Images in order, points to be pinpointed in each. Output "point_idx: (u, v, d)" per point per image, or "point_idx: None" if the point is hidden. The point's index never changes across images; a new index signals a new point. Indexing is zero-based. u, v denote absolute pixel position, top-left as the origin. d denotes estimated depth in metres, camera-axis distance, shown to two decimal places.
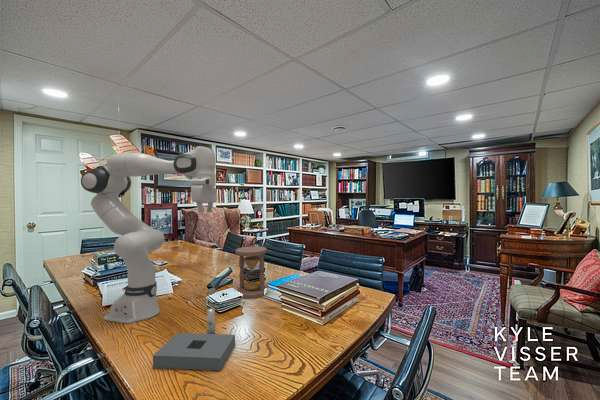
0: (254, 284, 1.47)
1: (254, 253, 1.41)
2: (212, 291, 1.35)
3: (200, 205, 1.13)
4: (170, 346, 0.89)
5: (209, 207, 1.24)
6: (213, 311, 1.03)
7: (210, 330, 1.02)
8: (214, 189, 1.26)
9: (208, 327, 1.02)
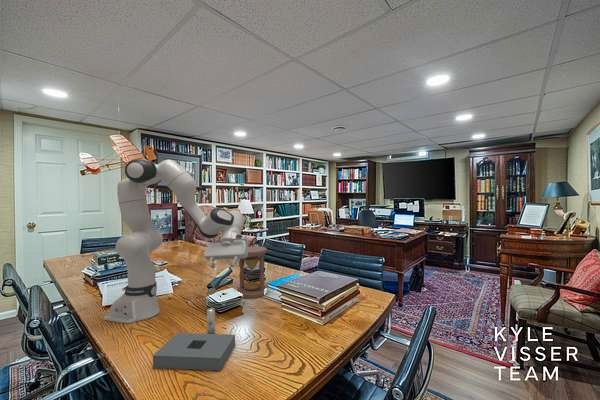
0: (254, 284, 1.47)
1: (254, 253, 1.41)
2: (212, 291, 1.35)
3: (237, 260, 1.17)
4: (170, 346, 0.89)
5: None
6: (213, 311, 1.03)
7: (210, 330, 1.02)
8: None
9: (208, 327, 1.02)
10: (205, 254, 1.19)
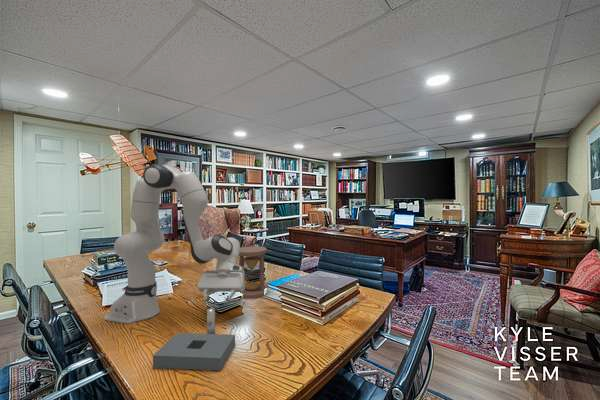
0: (254, 284, 1.47)
1: (254, 253, 1.41)
2: (212, 291, 1.36)
3: (234, 294, 1.12)
4: (170, 346, 0.89)
5: (207, 295, 1.11)
6: (213, 311, 1.03)
7: (210, 330, 1.02)
8: None
9: (208, 327, 1.02)
10: (199, 285, 1.13)
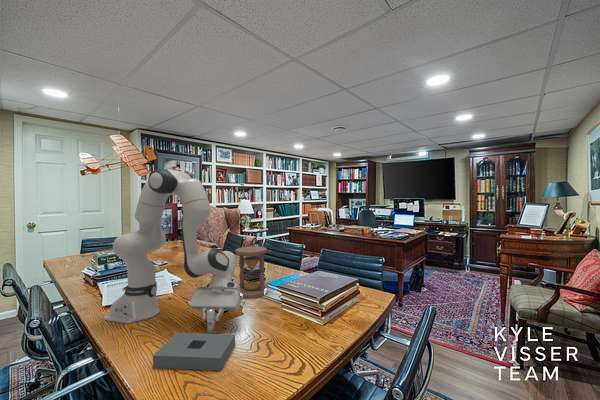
0: (254, 284, 1.47)
1: (254, 253, 1.41)
2: None
3: (222, 313, 1.05)
4: (170, 346, 0.89)
5: (205, 314, 1.05)
6: (213, 311, 1.03)
7: (210, 330, 1.02)
8: None
9: (208, 327, 1.02)
10: (191, 304, 1.06)
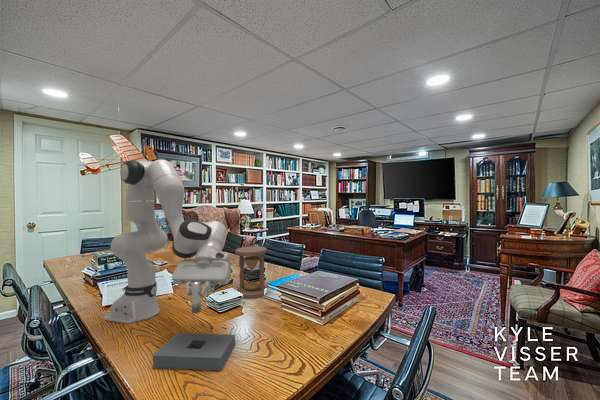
0: (254, 284, 1.47)
1: (254, 253, 1.41)
2: (211, 290, 1.37)
3: (209, 286, 0.91)
4: (170, 346, 0.89)
5: (190, 288, 0.90)
6: (198, 284, 0.89)
7: (195, 306, 0.88)
8: None
9: (192, 302, 0.88)
10: (174, 276, 0.92)
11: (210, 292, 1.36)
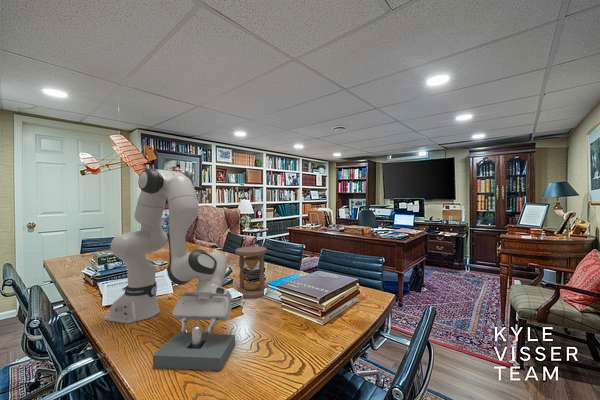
0: (254, 284, 1.47)
1: (254, 253, 1.41)
2: None
3: (215, 323, 0.91)
4: (170, 346, 0.89)
5: (185, 325, 0.91)
6: (199, 329, 0.89)
7: None
8: None
9: (193, 347, 0.88)
10: (174, 313, 0.92)
11: None
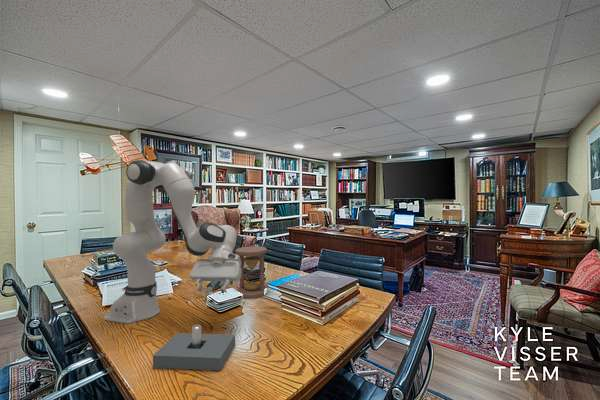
0: (254, 284, 1.47)
1: (254, 253, 1.41)
2: (210, 289, 1.38)
3: (229, 283, 1.04)
4: (170, 346, 0.89)
5: (200, 284, 1.03)
6: (199, 329, 0.89)
7: None
8: None
9: (193, 347, 0.88)
10: (191, 274, 1.05)
11: (209, 291, 1.37)
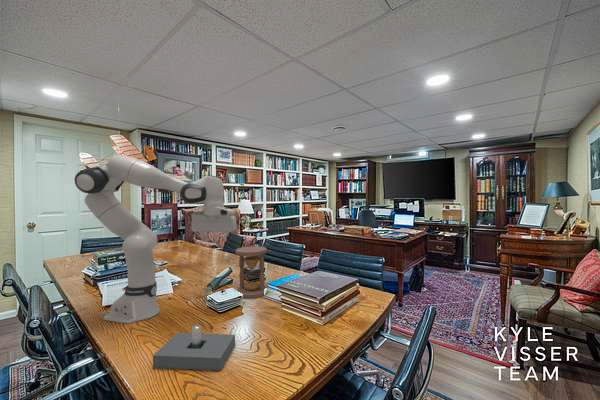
0: (254, 284, 1.47)
1: (254, 253, 1.41)
2: (209, 289, 1.38)
3: None
4: (170, 346, 0.89)
5: (203, 236, 1.20)
6: (199, 329, 0.89)
7: None
8: None
9: (193, 347, 0.88)
10: (193, 229, 1.19)
11: (208, 291, 1.38)
